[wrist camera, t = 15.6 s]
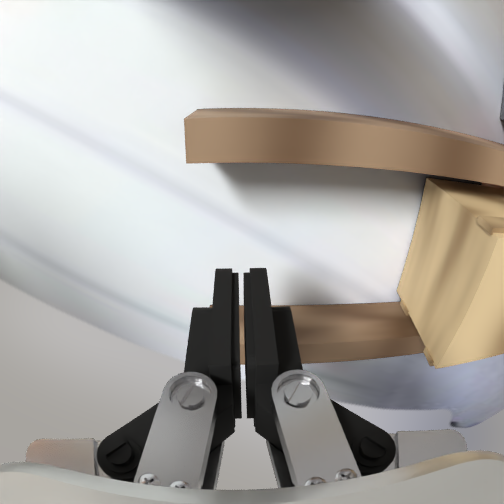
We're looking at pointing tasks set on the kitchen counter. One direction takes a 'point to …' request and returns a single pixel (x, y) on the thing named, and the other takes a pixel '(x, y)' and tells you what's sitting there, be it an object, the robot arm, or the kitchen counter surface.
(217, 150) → the bay
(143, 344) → the kitchen counter surface
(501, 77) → the kitchen counter surface
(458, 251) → the tan wooden block
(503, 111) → the winch post
